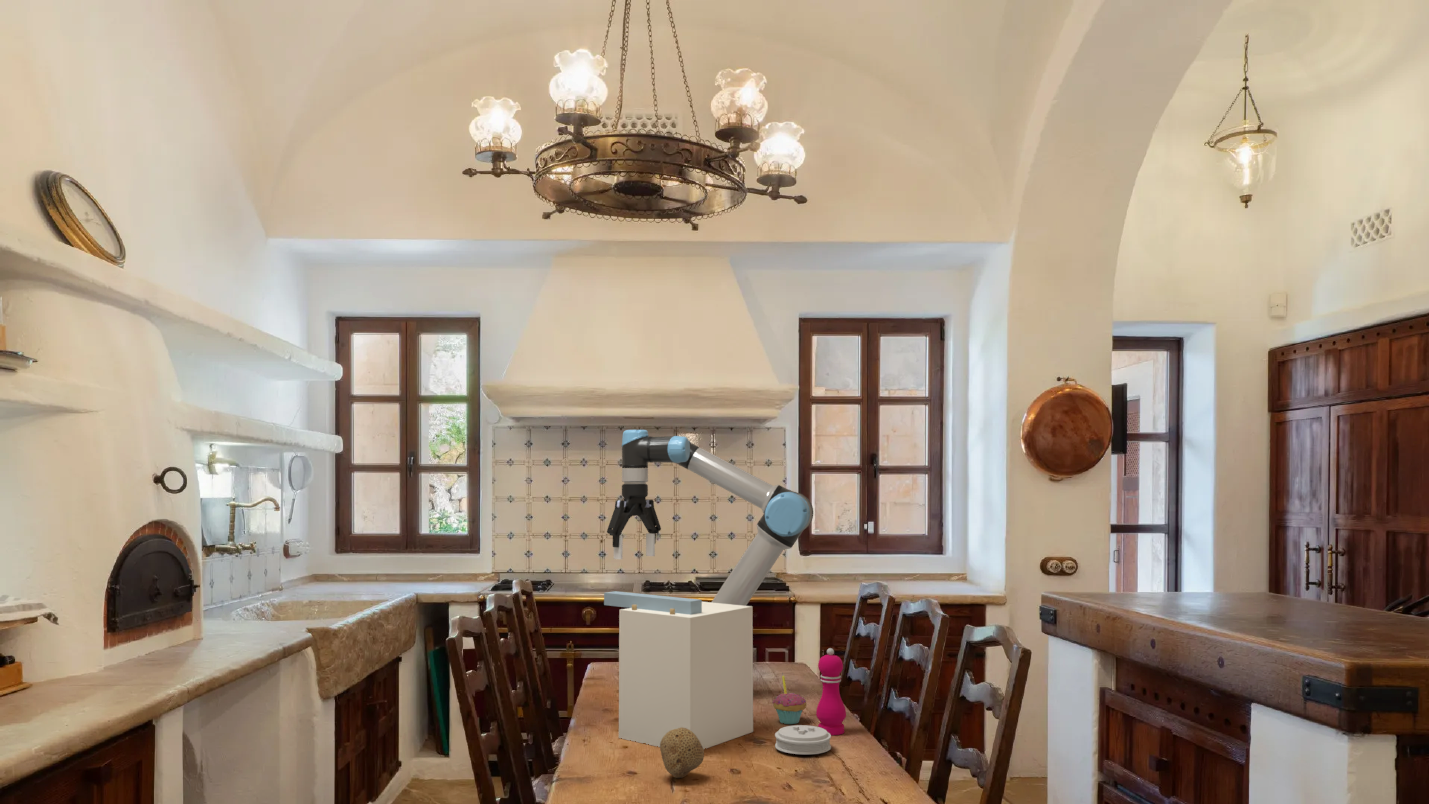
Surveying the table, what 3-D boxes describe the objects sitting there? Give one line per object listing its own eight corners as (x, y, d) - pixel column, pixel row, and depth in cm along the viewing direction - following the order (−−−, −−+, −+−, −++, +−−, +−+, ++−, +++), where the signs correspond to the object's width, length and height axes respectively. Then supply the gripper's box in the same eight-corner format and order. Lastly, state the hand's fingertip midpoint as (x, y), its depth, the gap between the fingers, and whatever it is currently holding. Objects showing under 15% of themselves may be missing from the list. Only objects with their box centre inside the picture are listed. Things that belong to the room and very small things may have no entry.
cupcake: (767, 723, 242) (767, 674, 243) (781, 716, 250) (781, 668, 250) (798, 727, 238) (798, 678, 239) (812, 720, 245) (811, 672, 246)
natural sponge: (703, 770, 203) (703, 722, 204) (704, 784, 194) (704, 733, 195) (660, 771, 203) (660, 722, 204) (659, 784, 194) (659, 734, 195)
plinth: (618, 737, 229) (619, 604, 231) (683, 718, 248) (683, 595, 250) (690, 754, 215) (690, 612, 218) (753, 731, 234) (752, 601, 237)
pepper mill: (845, 736, 230) (844, 651, 231) (814, 735, 231) (814, 650, 233) (847, 729, 237) (846, 646, 238) (817, 727, 238) (817, 645, 240)
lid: (785, 760, 211) (785, 737, 211) (767, 745, 223) (767, 723, 224) (839, 756, 214) (839, 733, 215) (818, 741, 227) (818, 719, 227)
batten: (604, 604, 240) (604, 592, 240) (615, 603, 243) (615, 591, 243) (690, 614, 223) (690, 601, 223) (701, 612, 226) (701, 599, 226)
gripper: (653, 483, 291) (653, 554, 289) (594, 483, 271) (594, 559, 269) (672, 483, 286) (672, 555, 284) (614, 483, 267) (613, 561, 265)
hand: (634, 557), depth 277 cm, fingers open, 13 cm apart
